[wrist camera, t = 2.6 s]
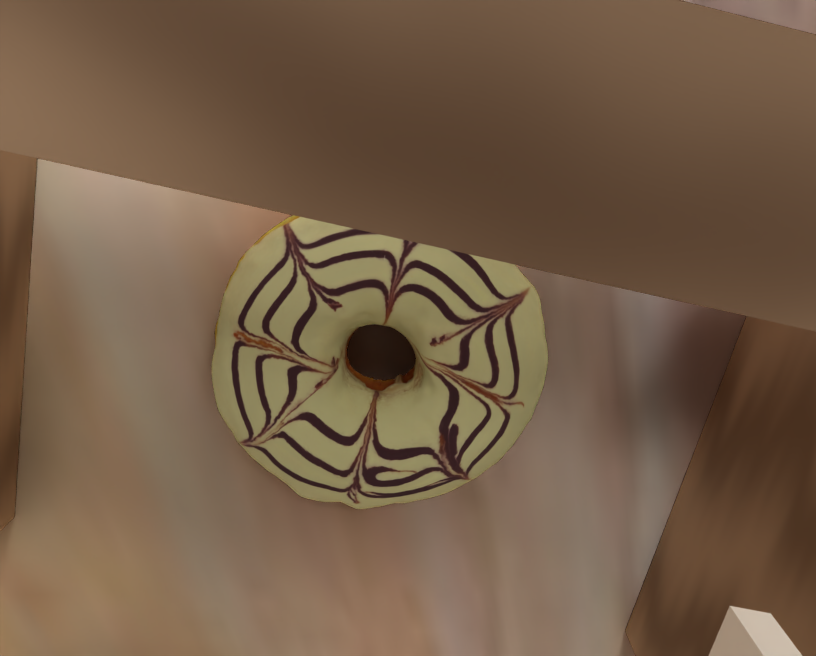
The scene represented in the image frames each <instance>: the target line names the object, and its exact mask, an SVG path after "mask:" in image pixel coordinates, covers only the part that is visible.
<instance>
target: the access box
mask: <svg viewBox="0 0 816 656" xmlns="http://www.w3.org/2000/svg"><path fill="white" fill-rule="evenodd" d="M37 158H38V159H43V160H47V161H52V162H56V163H61V164H65V165H70V166H74V167H79V168H83V169H88V170H92V171H97V172H101V173H106V174H110V175H115V176H119V177H124V178H128V179H133V180H137V181H142V182H146V183H151V184H155V185H160V186H164V187H169V188H173V189H178V190H182V191H187V192H191V193H196V194H200V195H205V196H209V197H214V198H218V199H223V200H227V201H232V202H236V203H241V204H245V205H250V206H254V207H259V208H263V209H268V210H272V211H277V212H281V213H286V214H290V215H295V216H299V217H304V218H308V219H313V220H317V221H322V222H326V223H331V224H335V225H340V226H344V227H349V228H353V229H358V230H362V231H367V232H371V233H376V234H380V235H385V236H389V237H394V238H398V239H403V240H407V241H411V242H416V243H420V244H425V245H429V246H434V247H438V248H443V249H447V250H452V251H456V252H461V253H465V254H470V255H474V256H479V257H483V258H488V259H492V260H497V261H501V262H506V263H510V264H515V265H519V266H524V267H528V268H533V269H537V270H542V271H546V272H551V273H555V274H560V275H564V276H569V277H573V278H578V279H582V280H587V281H591V282H596V283H600V284H605V285H609V286H614V287H618V288H623V289H627V290H632V291H636V292H641V293H645V294H650V295H654V296H659V297H663V298H668V299H672V300H677V301H681V302H686V303H690V304H695V305H699V306H704V307H708V308H713V309H717V310H722V311H726V312H731V313H735V314H740V315H744V316H747V317H746V319H745V322H744V324H743V327H742V330H741V332H740V335H739V337H738V340H737V343H736V345H735V348H734V350H733V353H732V355H731V358H730V361H729V363H728V366H727V368H726V371H725V374H724V376H723V379H722V381H721V384H720V387H719V389H718V392H717V394H716V397H715V400H714V402H713V405H712V407H711V410H710V412H709V415H708V418H707V420H706V423H705V425H704V428H703V431H702V433H701V436H700V438H699V441H698V444H697V446H696V449H695V451H694V454H693V457H692V459H691V462H690V464H689V467H688V469H687V472H686V475H685V477H684V480H683V482H682V485H681V488H680V490H679V493H678V495H677V498H676V501H675V503H674V506H673V508H672V511H671V514H670V516H669V519H668V521H667V524H666V526H665V529H664V532H663V534H662V537H661V539H660V542H659V545H658V547H657V550H656V552H655V555H654V558H653V560H652V563H651V565H650V568H649V571H648V573H647V576H646V578H645V581H644V583H643V586H642V589H641V591H640V594H639V596H638V599H637V602H636V604H635V607H634V609H633V612H632V615H631V617H630V620H629V622H628V625H627V628H626V630H625V632H626V634H627V637H628V639H629V642H630V644H631V646H632V649H633V651H634V653H635V656H709V653H710V651H711V649H712V646H713V644H714V642H715V639H716V637H717V635H718V632H719V630H720V628H721V625H722V623H723V621H724V618H725V616H726V613H727V611H728V609H729V606H734V607H739V608H744V609H750V610H755V611H760V612H766V613H771V614H772V616H773V617H774V618H775V620H776V621H777V622H778V624H779V625H780V626H781V628H782V629H783V630H784V632H785V633H786V635H787V636H788V637H789V639H790V640H791V641H792V643H793V644H794V645H795V647H796V648H797V649H798V651H799V652H800V653H801V655H802V656H816V34H812V33H808V32H804V31H800V30H796V29H792V28H788V27H784V26H780V25H776V24H772V23H768V22H764V21H760V20H756V19H752V18H748V17H745V16H741V15H737V14H733V13H729V12H725V11H721V10H717V9H713V8H709V7H705V6H701V5H697V4H693V3H689V2H685V1H681V0H0V531H1V530H2V529H3V528H4V527H5V526H6V525H7V524H8V523H9V522H10V521H11V520H12V519H13V518H14V516H15V501H16V485H17V469H18V453H19V437H20V421H21V405H22V390H23V374H24V358H25V342H26V326H27V310H28V294H29V279H30V263H31V247H32V231H33V215H34V199H35V184H36V168H37Z"/></svg>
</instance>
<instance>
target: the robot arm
mask: <svg viewBox="0 0 816 656" xmlns="http://www.w3.org/2000/svg"><path fill="white" fill-rule="evenodd" d="M709 656H802V655H801V653H800V652H799V651H798V649H797V648H796V647H795V645H794V644H793V643H792V641H791V640H790V639H789V637H788V636H787V635H786V633H785V632H784V630H783V629H782V628H781V626H780V625H779V624H778V622H777V621H776V620H775V618H774V617H773V616H772V614H771V613H766V612H760V611H755V610H750V609H744V608H739V607H734V606H729V609H728V611H727V613H726V616H725V618H724V621H723V623H722V625H721V628H720V630H719V632H718V635H717V637H716V639H715V642H714V644H713V646H712V649H711V651H710V653H709Z"/></svg>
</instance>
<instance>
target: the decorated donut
mask: <svg viewBox="0 0 816 656" xmlns="http://www.w3.org/2000/svg"><path fill="white" fill-rule="evenodd" d="M541 310H542V308H541V302H540V298H539V295H538V293H537V291H536V289H535V287H534V286H533V285H532V284H531V283H530V282H529V281H528V279H527V278H526V277H525V276H524V275H523V274H522V273H521V272H520V270H519V269H518V268H517V267H516V265H515V264H510V263H506V262H501V261H497V260H492V259H488V258H483V257H479V256H474V255H470V254H465V253H461V252H456V251H452V250H447V249H443V248H438V247H434V246H429V245H425V244H420V243H416V242H411V241H407V240H403V239H398V238H394V237H389V236H385V235H380V234H376V233H371V232H367V231H362V230H358V229H353V228H349V227H344V226H340V225H335V224H331V223H326V222H322V221H317V220H313V219H308V218H304V217H299V216H295V215H293V216H291V217H289V218H287V219H286V220H284V221H283V222H281V223H279V224H278V225H277V226H275V227H274V228H272V229H271V230H270V231H268V232H267V233H265V234H264V235H263V236H262V237H261V238H260V239H259V240H258V241H257V242H256V243H255V244H254V245H253V246H252V247H251V248H249V250H247V251H246V253H245V254H244V255H243V256H242V257H241V259H240V260H239V262H238V264H237V267H236V269H235V271H234V272H233V274H232V275H231V277H230V279H229V282H228V284H227V287H226V290H225V293H224V295H223V298H222V303H221V307H220V311H219V318H218V321H217V323H216V328H215V350H214V354H213V358H212V365H211V370H212V375H211V376H212V383H213V389H214V395H215V400H216V404H217V408H218V411H219V413H220V415H221V416H222V418H223V420H224V421H225V423H226V424H227V426H228V427H229V429H230V430H231V431H232V432H233V434H234V437H235V439H236V440H237V442H238V444H239V445H240V446H241V447H243V448H244V449H245V450H246V452H247V453H248V454H249V456H250V457H252V458H253V459H254V460H255V461H257V462H258V463H259V464H260V465H261V466H263V467H264V468H265V469H266V470H267V471H269V472H270V473H272V474H274V475H275V476H276V477H278V478H279V479H280V480H281V481H283V482H285V483H286V484H287V485H288V486H289V487H290V488H292V489H293V490H294V491H295V492H296V493H297V494H298V495H299V496H301V497H303V498H307V499H310V500H315V501H320V502H342V503H344V504H346V505H348V506H351V507H353V508H355V509H368V508H373V507H382V506H385V505H389V504H393V503H409V502H413V501H416V500H424V499H428V498H432V497H436V496H439V495H443V494H445V493H448V492H450V491H453V490H454V489H456V488H458V487H460V486H462V485H464V484H465V483H467V482H469V481H471V480H473V479H475V478H477V477H478V476H480V475H481V474H482V473H483V472H485V471H486V470H487V469H488V468H490V467H491V466H493V465H494V464H496V463H497V462H498V461H499V460H500V459H502V457H503V456H504V455H505V453H506V452H507V451H508V450H509V449H510V448H511V447H512V446H513V445H514V443H515V441H516V440H517V439H518V437H519V436H520V435H521V433H522V432H523V430H524V428H525V426H526V425H527V424H528V422H529V421H530V420H531V418H532V415H533V413H534V410H535V407H536V405H537V403H538V400H539V398H540V395H541V392H542V390H543V387H544V381H545V376H546V372H547V366H548V348H547V342H546V339H545V326H544V321H543V316H542V311H541ZM372 324H378V325H381V326H389V327H392V328H394V329H396V330H397V331H399V332H400V333H402V334H403V335H404V336H405V337H406V338H407V340H408V341H409V342H410V344H411V346H412V347H413V349H414V352H415V356H416V357H415V358H416V360H415V365H414V367H413V368H412V369H411V370H410V371H409V372H407V374H406V375H404V376H403V375H401V374H400V375H398V376H396V378H395V379H388V380H385V381H384V380H383V381H382V380H381V379H379V380H377V379H376V380H374V379H373V377H372V378H369V377H366V376H363V375H362V374H361V373H358V372H357V371H355V370H354V369H353V368H352V367H351V366H350V364H349V360H348V358H347V350H346V349H347V346H348V345H349V340H350V338H351V337H352V335H353V334H354V331H355V330H357V329H358V327H361V326H365V325H372Z"/></svg>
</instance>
